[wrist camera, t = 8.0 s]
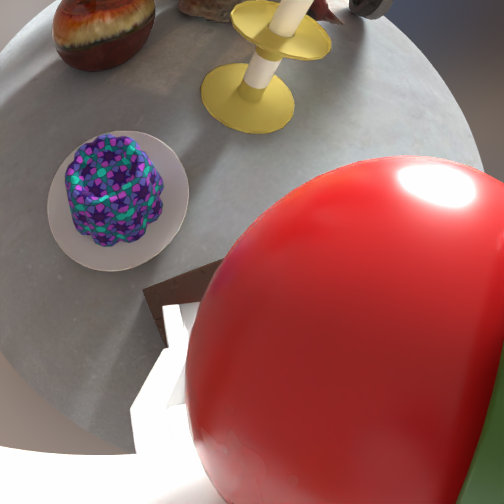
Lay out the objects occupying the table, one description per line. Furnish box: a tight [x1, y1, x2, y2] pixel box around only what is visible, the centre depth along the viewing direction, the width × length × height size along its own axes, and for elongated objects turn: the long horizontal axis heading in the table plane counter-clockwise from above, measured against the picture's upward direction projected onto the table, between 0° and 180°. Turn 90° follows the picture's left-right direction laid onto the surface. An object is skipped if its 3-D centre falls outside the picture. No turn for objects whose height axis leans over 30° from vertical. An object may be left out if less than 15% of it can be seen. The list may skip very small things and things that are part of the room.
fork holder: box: [143, 258, 224, 348], centre depth 19 cm, size 6×6×4 cm
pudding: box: [47, 130, 189, 272], centre depth 18 cm, size 12×12×5 cm
